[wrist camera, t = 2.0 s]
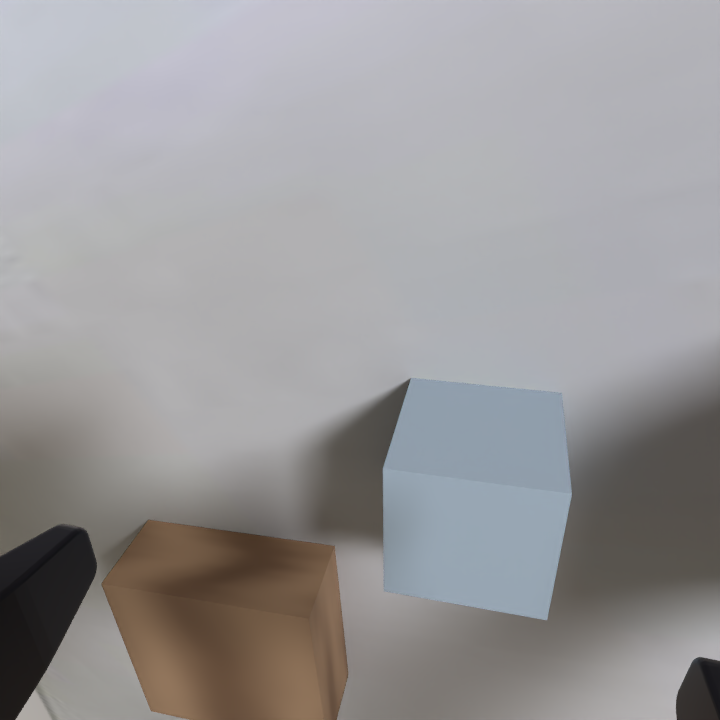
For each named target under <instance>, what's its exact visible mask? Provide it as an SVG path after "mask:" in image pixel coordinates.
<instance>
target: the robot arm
mask: <svg viewBox="0 0 720 720" xmlns="http://www.w3.org/2000/svg"><path fill="white" fill-rule="evenodd" d="M96 569H97V562H96V558H95V555H94V552H93V548H92V545H91V542H90V539H89V535H88V533H87V531H86V530H85V529H83V528H81V527H76V526H71V525H66V524H62V525H57V526H55V527H53V528H51V529H49V530H47V531H46V532H44V533H42V534H40V535H38V536H37V537H35V538H33V539H31V540H29V541H27V542H26V543H24V544H22V545H20V546H18V547H17V548H15V549H13V550H11V551H9V552H7V553H6V554H4V555H2V556H0V720H15V719H16V718H17V716H18V715H19V713H20V712H21V710H22V708H23V707H24V705H25V704H26V702H27V700H28V699H29V697H30V696H31V694H32V692H33V691H34V689H35V688H36V686H37V685H38V683H39V681H40V680H41V678H42V676H43V675H44V673H45V671H46V670H47V668H48V666H49V664H50V663H51V661H52V659H53V657H54V655H55V653H56V651H57V650H58V648H59V646H60V644H61V642H62V640H63V638H64V636H65V634H66V632H67V630H68V628H69V626H70V624H71V622H72V620H73V618H74V616H75V614H76V612H77V610H78V609H79V607H80V605H81V603H82V601H83V599H84V597H85V595H86V593H87V591H88V589H89V587H90V585H91V583H92V581H93V579H94V577H95V574H96ZM676 715H677V720H720V661H717V660H712V659H708V658H703V657H698V658H696V659H694V660H693V662H692V663H691V666H690V668H689V670H688V672H687V674H686V676H685V678H684V680H683V682H682V684H681V687H680V689H679V691H678V694H677V699H676Z"/></svg>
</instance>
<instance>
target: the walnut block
mask: <svg viewBox="0 0 720 720" xmlns="http://www.w3.org/2000/svg"><path fill="white" fill-rule="evenodd" d="M101 584H102V587H103V589H104V592H105V595H106V597H107V600H108V602H109V605H110V607H111V610H112V612H113V615H114V618H115V620H116V623H117V625H118V628H119V630H120V633H121V636H122V638H123V641H124V643H125V646H126V648H127V651H128V653H129V656H130V659H131V661H132V664H133V666H134V669H135V671H136V674H137V677H138V679H139V682H140V684H141V687H142V689H143V692H144V694H145V697H146V700H147V702H148V705H149V707H150V710H151V711H153V712H158V713H162V714H167V715H171V716H176V717H181V718H185V719H190V720H337V716H338V712H339V708H340V705H341V701H342V697H343V693H344V689H345V686H346V682H347V678H348V666H347V657H346V648H345V639H344V629H343V620H342V611H341V602H340V592H339V583H338V574H337V565H336V555H335V546H331V545H324V544H317V543H310V542H302V541H295V540H288V539H281V538H274V537H267V536H260V535H253V534H245V533H238V532H231V531H224V530H217V529H210V528H203V527H196V526H188V525H181V524H174V523H167V522H160V521H153V520H148V521H147V522H146V524H145V525H144V526H143V528H142V529H141V531H140V532H139V533H138V535H137V536H136V537H135V539H134V540H133V541H132V543H131V544H130V545H129V547H128V548H127V549H126V551H125V552H124V554H123V555H122V556H121V558H120V559H119V560H118V562H117V563H116V564H115V566H114V567H113V568H112V570H111V571H110V572H109V574H108V575H107V577H106V578H105V579H104V581H103V582H102V583H101Z"/></svg>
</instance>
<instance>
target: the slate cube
mask: <svg viewBox="0 0 720 720" xmlns="http://www.w3.org/2000/svg"><path fill="white" fill-rule="evenodd" d="M571 497H572V489H571V479H570V469H569V459H568V449H567V439H566V430H565V420H564V410H563V400H562V393H556V392H546V391H536V390H526V389H516V388H506V387H496V386H486V385H476V384H466V383H456V382H446V381H436V380H426V379H416V378H411V380H410V383H409V386H408V389H407V393H406V396H405V399H404V402H403V406H402V409H401V412H400V415H399V418H398V422H397V425H396V428H395V431H394V434H393V438H392V441H391V444H390V447H389V450H388V454H387V457H386V460H385V463H384V467H383V554H384V591H386V592H391V593H397V594H402V595H408V596H414V597H419V598H425V599H430V600H436V601H442V602H447V603H453V604H458V605H464V606H470V607H475V608H481V609H486V610H492V611H498V612H503V613H509V614H514V615H520V616H526V617H531V618H537V619H542V620H547V618H548V613H549V608H550V603H551V598H552V593H553V588H554V583H555V578H556V572H557V567H558V562H559V557H560V552H561V547H562V542H563V537H564V532H565V527H566V522H567V517H568V512H569V507H570V502H571Z"/></svg>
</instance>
